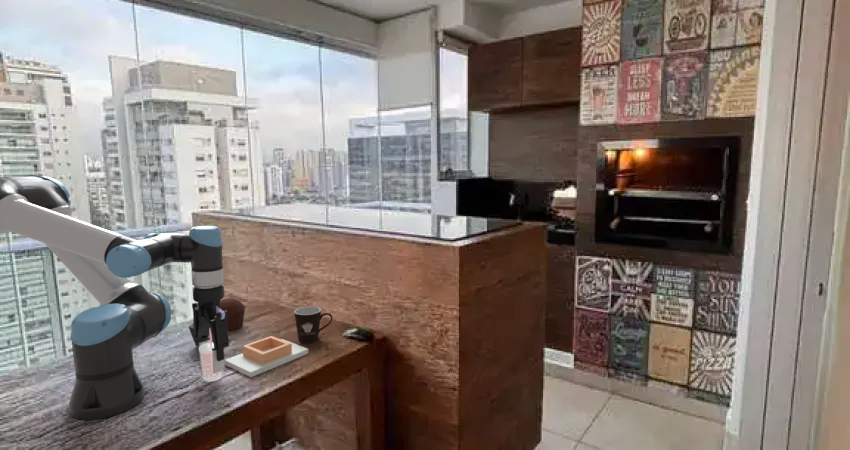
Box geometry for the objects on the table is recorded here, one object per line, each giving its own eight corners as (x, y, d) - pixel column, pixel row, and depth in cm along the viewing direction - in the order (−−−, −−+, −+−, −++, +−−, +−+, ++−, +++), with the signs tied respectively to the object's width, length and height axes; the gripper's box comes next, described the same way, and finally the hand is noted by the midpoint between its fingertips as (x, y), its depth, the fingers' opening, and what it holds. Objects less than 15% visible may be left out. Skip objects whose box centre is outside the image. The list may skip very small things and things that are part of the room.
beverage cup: (225, 371, 130) (223, 323, 128) (224, 380, 124) (222, 331, 122) (201, 374, 128) (198, 325, 126) (199, 384, 122) (196, 333, 120)
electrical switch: (223, 348, 147) (218, 321, 145) (207, 356, 143) (203, 328, 141) (205, 342, 152) (201, 316, 150) (190, 349, 148) (186, 322, 146)
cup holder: (250, 377, 128) (250, 361, 127) (224, 364, 135) (224, 350, 135) (308, 353, 144) (307, 339, 143) (282, 343, 151) (281, 330, 151)
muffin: (217, 321, 171) (215, 295, 169) (248, 320, 173) (247, 294, 171) (208, 333, 159) (206, 305, 158) (242, 331, 161) (241, 304, 160)
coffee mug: (290, 343, 152) (289, 313, 150) (303, 333, 160) (302, 305, 159) (322, 346, 149) (322, 316, 148) (334, 336, 157) (333, 308, 156)
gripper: (241, 288, 120) (245, 372, 123) (203, 276, 131) (206, 353, 134) (214, 294, 114) (218, 383, 117) (176, 281, 125) (180, 362, 128)
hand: (212, 367), depth 126 cm, fingers closed on beverage cup, 6 cm apart
